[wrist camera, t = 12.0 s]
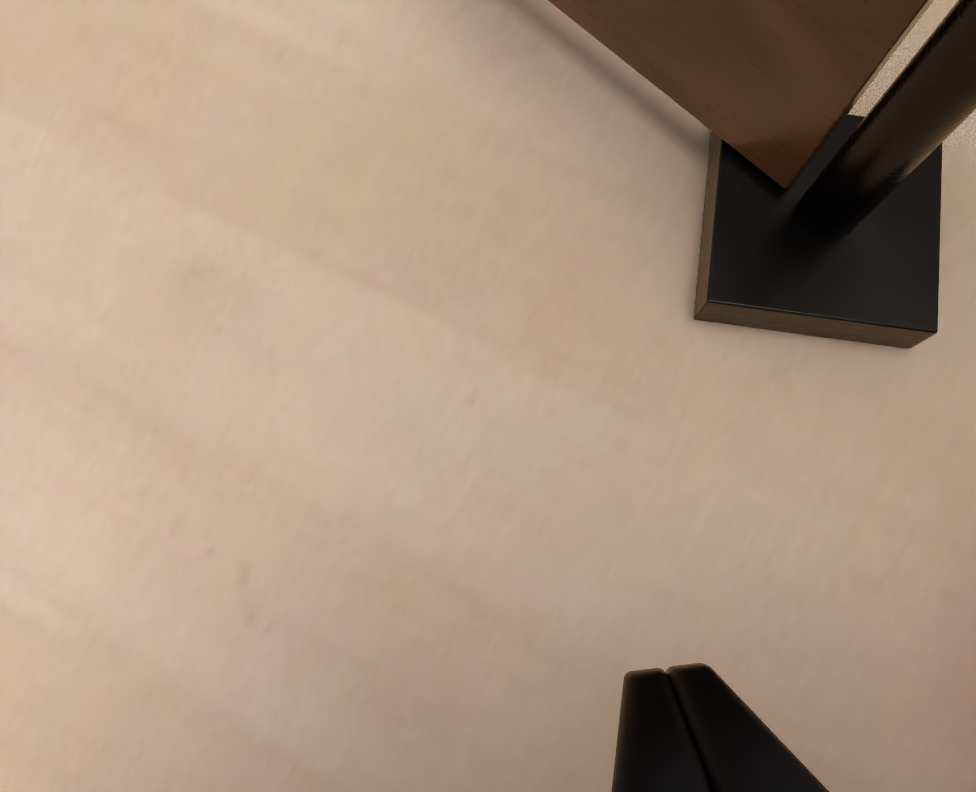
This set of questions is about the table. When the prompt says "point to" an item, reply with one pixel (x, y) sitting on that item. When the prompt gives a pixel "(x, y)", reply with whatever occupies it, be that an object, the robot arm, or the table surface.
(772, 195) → the door post
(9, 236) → the table surface
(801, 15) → the door
